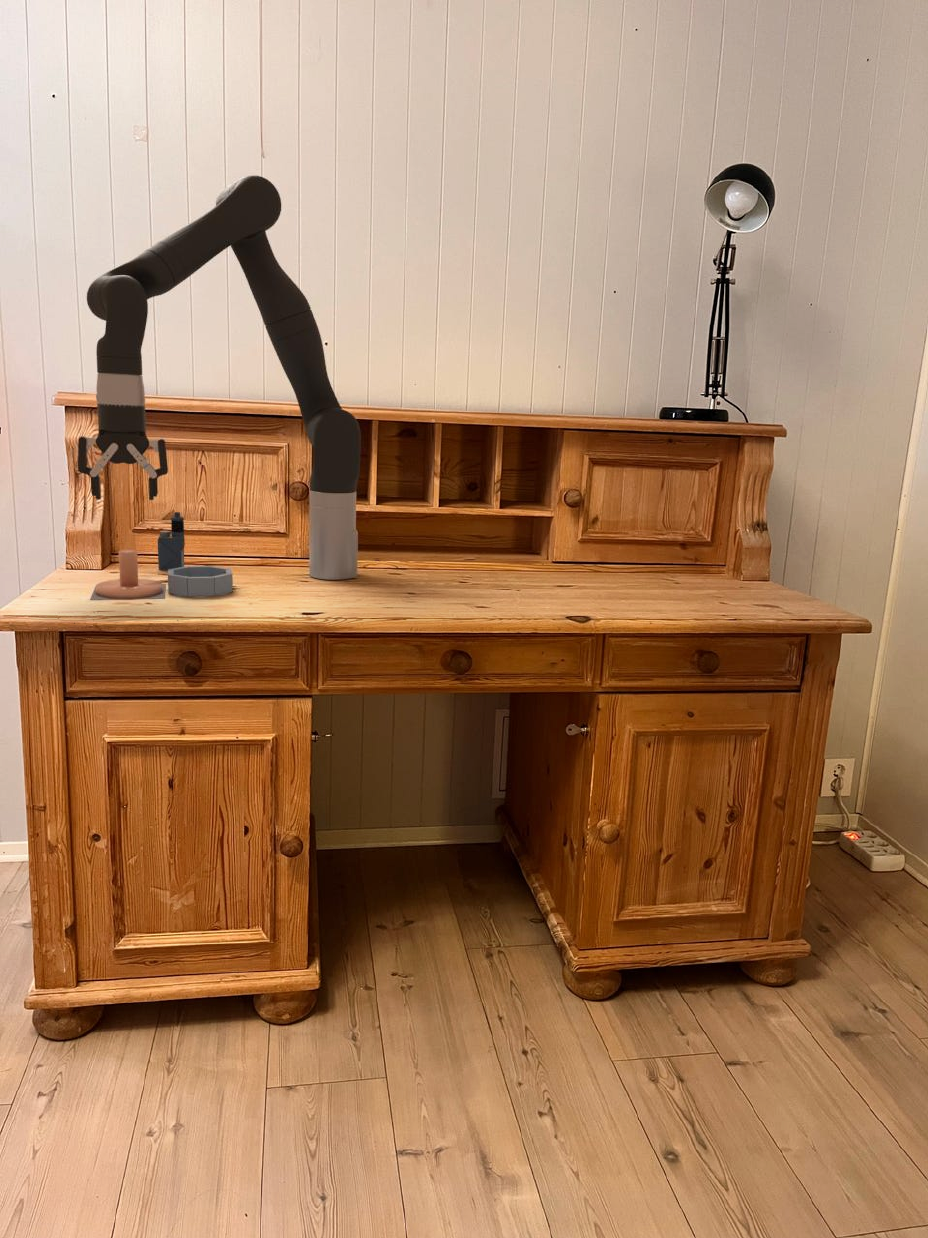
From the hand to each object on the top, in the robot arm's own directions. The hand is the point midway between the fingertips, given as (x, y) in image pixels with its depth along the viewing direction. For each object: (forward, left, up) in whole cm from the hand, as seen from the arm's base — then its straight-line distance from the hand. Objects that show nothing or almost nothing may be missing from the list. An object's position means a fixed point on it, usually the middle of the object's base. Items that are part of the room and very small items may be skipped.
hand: (125, 499), depth 154 cm
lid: (0, 0, -16) cm, 16 cm away
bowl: (-12, 0, -17) cm, 21 cm away
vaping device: (-7, -20, -17) cm, 27 cm away
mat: (0, 0, -17) cm, 17 cm away
